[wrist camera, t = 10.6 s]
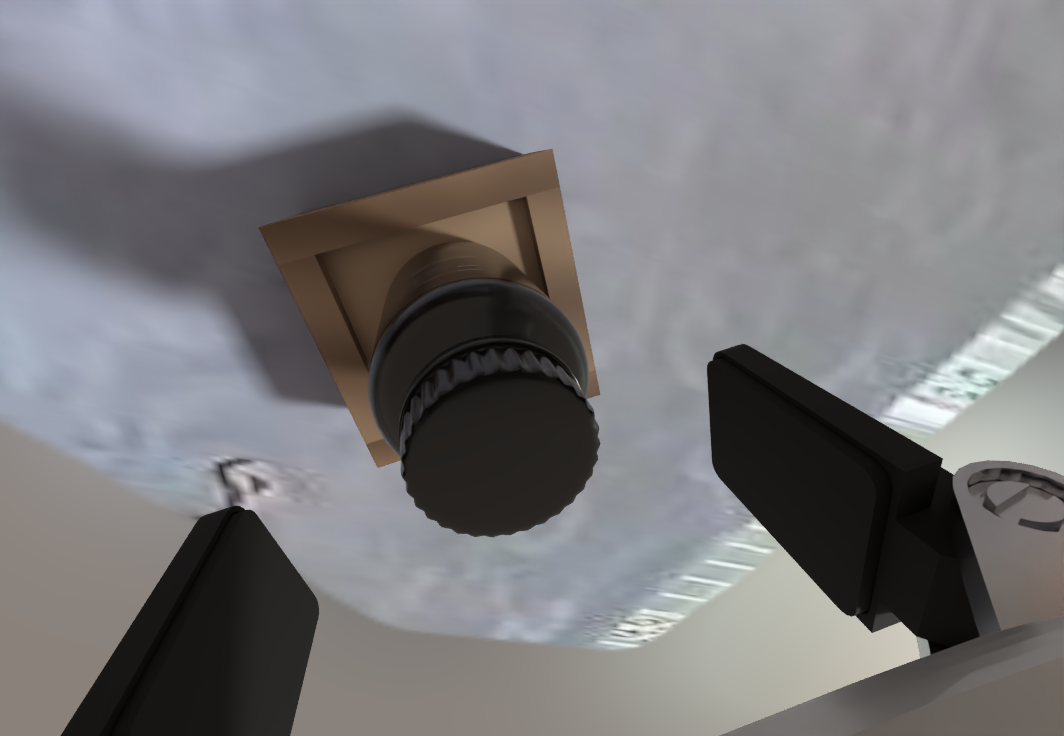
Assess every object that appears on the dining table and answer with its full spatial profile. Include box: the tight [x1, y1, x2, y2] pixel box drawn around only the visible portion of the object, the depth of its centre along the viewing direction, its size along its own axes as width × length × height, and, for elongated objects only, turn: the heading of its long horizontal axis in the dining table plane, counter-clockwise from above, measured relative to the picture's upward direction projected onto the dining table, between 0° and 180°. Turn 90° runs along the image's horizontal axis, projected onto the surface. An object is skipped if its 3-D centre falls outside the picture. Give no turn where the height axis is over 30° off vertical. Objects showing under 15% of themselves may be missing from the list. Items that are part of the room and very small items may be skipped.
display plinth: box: [259, 149, 600, 468], centre depth 23 cm, size 12×12×6 cm
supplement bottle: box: [368, 241, 600, 537], centre depth 16 cm, size 7×7×12 cm
